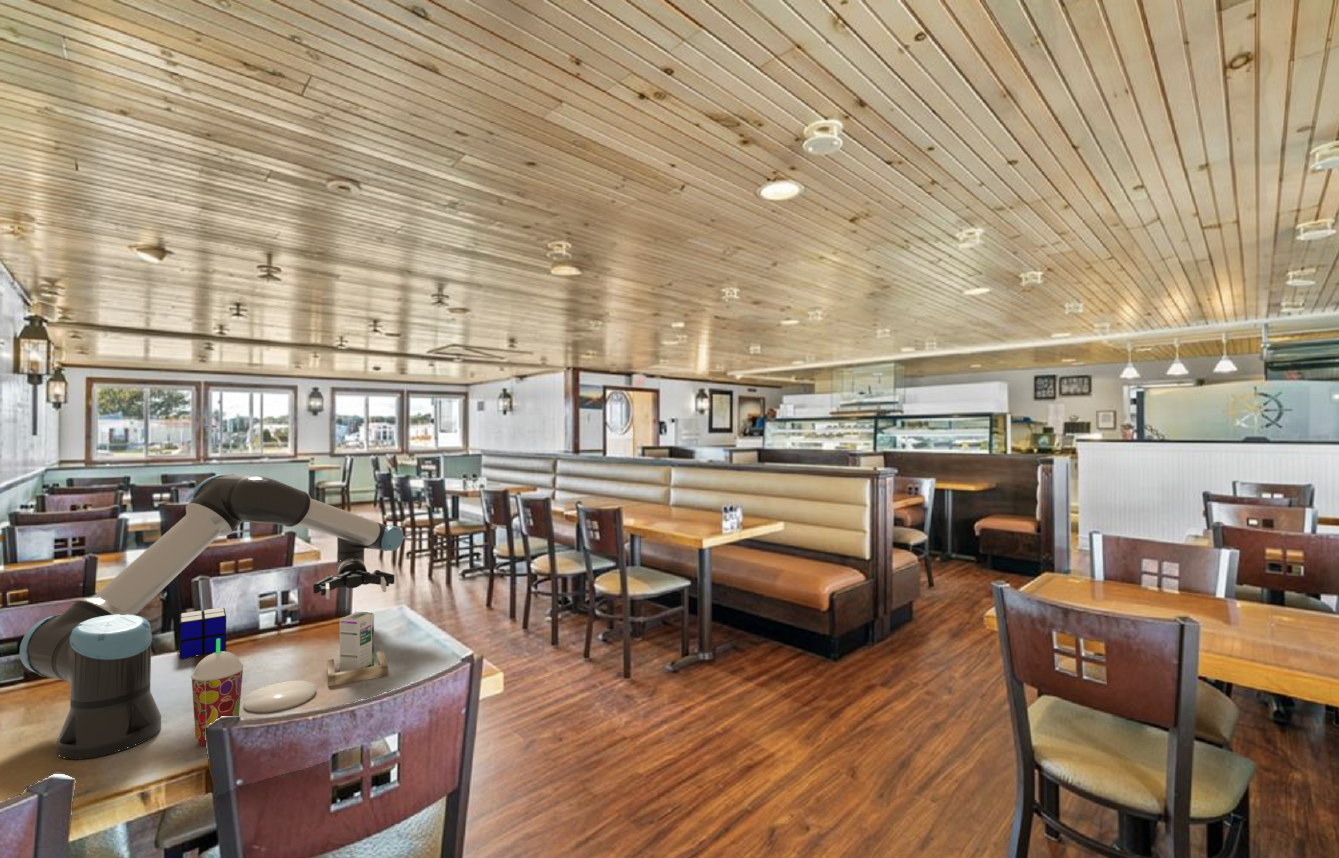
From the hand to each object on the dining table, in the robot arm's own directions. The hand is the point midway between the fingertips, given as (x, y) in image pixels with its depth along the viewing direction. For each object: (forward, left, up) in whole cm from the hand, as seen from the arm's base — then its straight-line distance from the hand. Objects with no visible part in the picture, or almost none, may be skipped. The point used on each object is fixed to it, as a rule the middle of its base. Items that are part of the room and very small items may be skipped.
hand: (356, 590), depth 161 cm
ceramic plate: (-16, -18, -18) cm, 30 cm away
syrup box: (0, -10, -19) cm, 21 cm away
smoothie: (-26, -33, -19) cm, 46 cm away
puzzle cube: (-36, +27, -19) cm, 49 cm away
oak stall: (0, -10, -18) cm, 21 cm away
